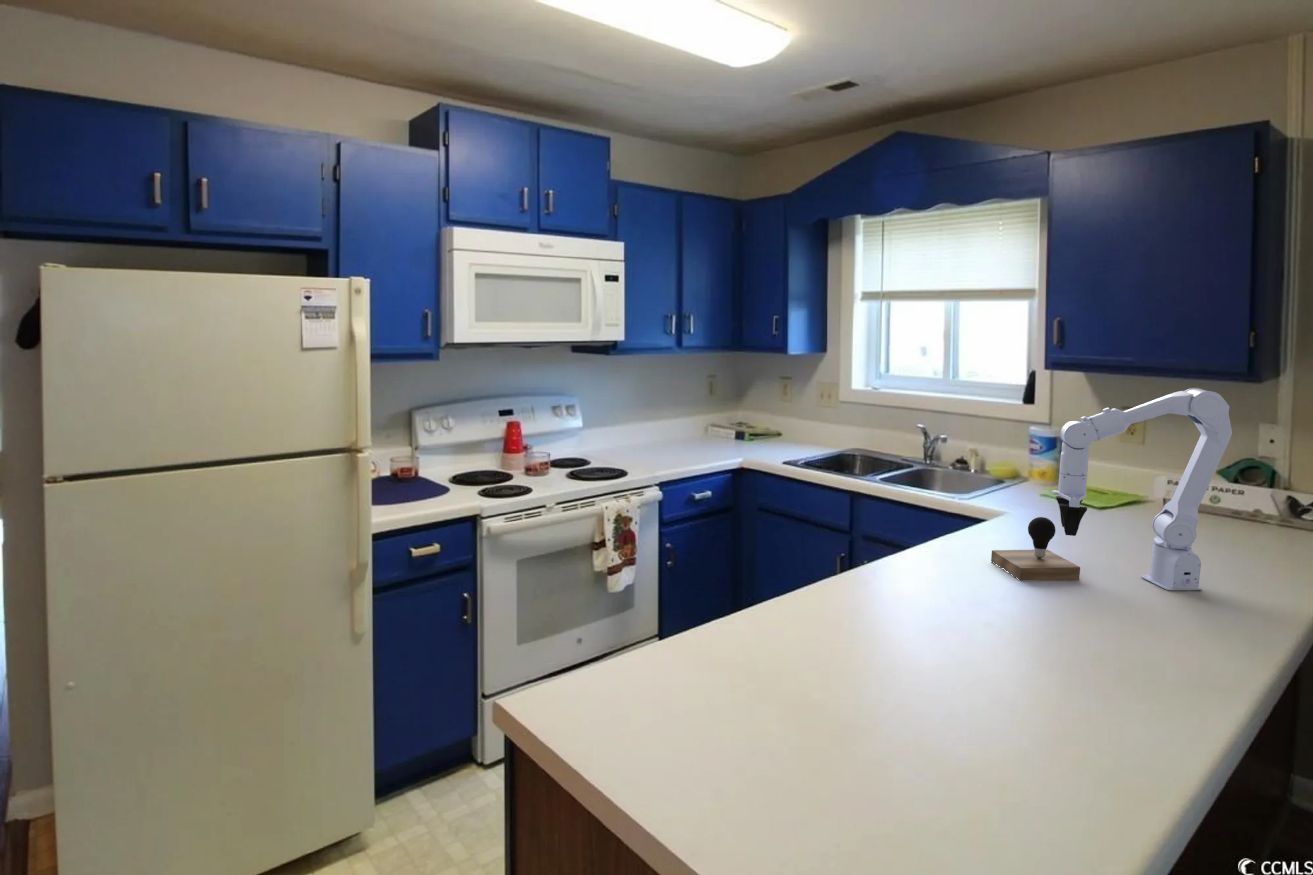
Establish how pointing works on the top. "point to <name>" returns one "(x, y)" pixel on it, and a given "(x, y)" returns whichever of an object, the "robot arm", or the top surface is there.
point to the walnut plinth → (1035, 565)
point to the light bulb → (1041, 534)
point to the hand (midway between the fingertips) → (1068, 531)
